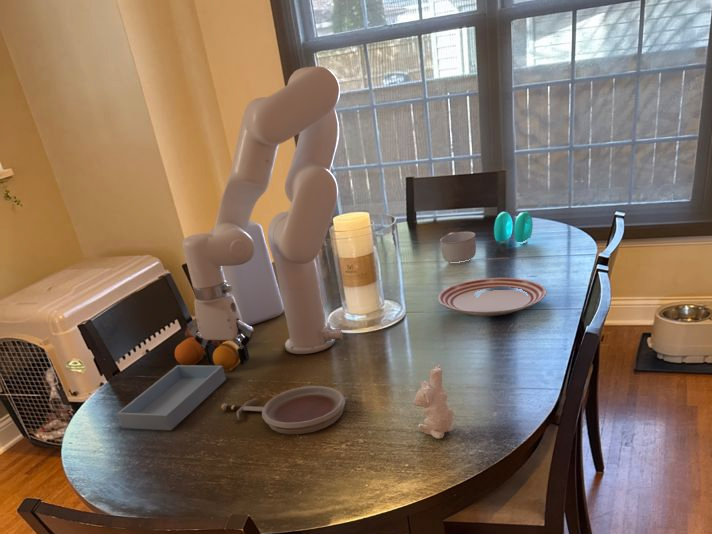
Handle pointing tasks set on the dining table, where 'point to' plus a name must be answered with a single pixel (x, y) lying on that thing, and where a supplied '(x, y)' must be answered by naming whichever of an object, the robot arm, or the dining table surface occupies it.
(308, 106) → the robot arm
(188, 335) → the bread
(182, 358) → the mango
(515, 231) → the teal twin oval discs
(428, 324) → the dining table surface
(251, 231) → the plastic bottle
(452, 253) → the teacup
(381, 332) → the dining table surface
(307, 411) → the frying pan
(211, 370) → the baking pan
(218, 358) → the mango
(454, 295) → the dinner plate
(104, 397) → the dining table surface
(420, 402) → the pink rabbit figurine
